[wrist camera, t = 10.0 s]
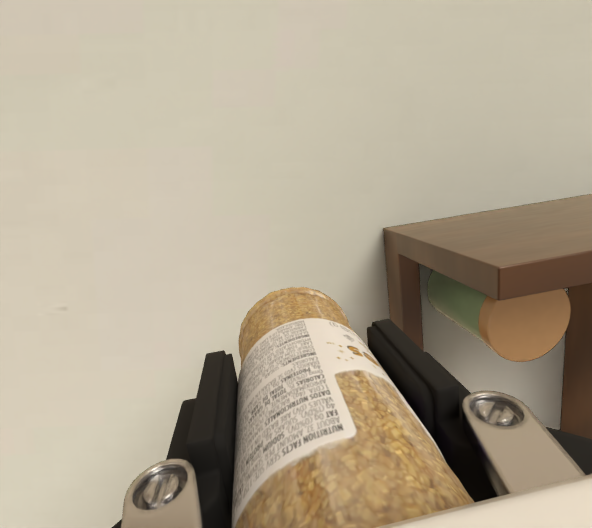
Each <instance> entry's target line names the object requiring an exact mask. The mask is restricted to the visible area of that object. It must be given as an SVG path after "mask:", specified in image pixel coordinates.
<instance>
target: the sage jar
mask: <svg viewBox="0 0 592 528" xmlns="http://www.w3.org/2000/svg"><path fill="white" fill-rule="evenodd" d="M427 292H428V297H429V300H430V303H431V304H432V306H433V307H434V308H435V309H436V310H437V311H438V312H440V313H441V314H443V315H444V316H446V317H447V318H449V319H450V320H452V321H453V322H455V323H456V324H457V325H459V326H460V327H462V328H463V329H465V330H466V331H468V332H469V333H471V334H472V335H474V336H475V337H477V338H478V339H480V340H481V341H483V342H484V343H485V344H486V345H487V346H488V347H489V348H490V349H491V350H492V351H494V352H495V353H497V354H498V355H500V356H501V357H503V358H505V359H507V360H510V361H516V362H525V361H530V360H534V359H536V358H539V357H541V356H543V355H544V354H546V353H547V352H549V351H550V350H551V349H552V348H554V347H555V345H556V344H557V343H558V342H559V341H560V340H561V338H562V337H563V335H564V333H565V331H566V329H567V327H568V324H569V320H570V314H571V306H570V300H569V297H568V295H567V293H566V291H565V290H564V288H563V289H558V290H553V291H548V292H543V293H537V294H532V295H527V296H522V297H517V298H511V299H506V300H501V301H498V300H496V299H494V298H492V297H489V296H487V295H485V294H483V293H481V292H479V291H477V290H475V289H473V288H470V287H468V286H466V285H464V284H462V283H460V282H458V281H456V280H454V279H451V278H449V277H447V276H445V275H443V274H441V273H439V272H437V271H435V270H433V272H432V273H431V275H430V278H429V281H428V287H427Z"/></svg>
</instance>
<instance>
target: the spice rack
mask: <svg viewBox="0 0 592 528" xmlns="http://www.w3.org/2000/svg"><path fill="white" fill-rule="evenodd" d="M383 231H384V244H385V257H386V270H387V283H388V296H389V309H390V320H391V321H392V322H393V323H394V324H396V325H397V326H398V327H399V328H400V329H401V330H402V331H403V332H404V333H405V334H406V335H407V336H408V337H409V338H410V339H411V340H412V341H413V342H414V343H415V344H416V345H417V346H418V347H420V348H421V349H422V350H423V332H422V313H421V295H420V276H419V263H420V264H422V265H424V266H426V267H428V268H430V269H432V270H435V271H437V272H439V273H441V274H443V275H445V276H447V277H449V278H451V279H454V280H456V281H458V282H460V283H462V284H464V285H466V286H468V287H470V288H473V289H475V290H477V291H479V292H481V293H483V294H485V295H487V296H489V297H492V298H494V299H496V300H498V301H501V300H506V299H511V298H517V297H522V296H527V295H532V294H537V293H543V292H548V291H553V290H558V289H563V288H569V293H568V297H569V300H570V306H571V314H570V320H569V324H568V327H567V329H566V345H565V362H564V380H563V397H562V414H561V431H563V432H567V433H571V434H574V435H578V436H582V437H586V438H589V439H592V194H589V195H583V196H577V197H570V198H564V199H558V200H552V201H546V202H540V203H534V204H528V205H521V206H515V207H509V208H503V209H497V210H491V211H485V212H479V213H473V214H466V215H460V216H454V217H448V218H442V219H436V220H430V221H424V222H417V223H411V224H405V225H399V226H393V227H387V228H383Z"/></svg>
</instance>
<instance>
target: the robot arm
mask: <svg viewBox="0 0 592 528" xmlns="http://www.w3.org/2000/svg"><path fill="white" fill-rule="evenodd" d="M367 338H368V348H369V350H370V351H371V353H372V354H373V355H374V357H375V358H376V360H377V361H378V362H379V364H380V365H381V367H382V368H383V369H384V371H385V372H386V373H387V375H388V376H389V378H390V379H391V381H392V382H393V383H394V385H395V386H396V388H397V389H398V390H399V392H400V393H401V394H402V396H403V397H404V399H405V400H406V401H407V403H408V404H409V406H410V407H411V409H412V410H413V411H414V413H415V414H416V415H417V417H418V418H419V420H420V421H421V422H422V424H423V425H424V427H425V428H426V429H427V431H428V432H429V434H430V435H431V437H432V438H433V440H434V441H435V443H436V445H437V446H438V448H439V450H440V451H441V453H442V455H443V457H444V459H445V461H446V463H447V465H448V466H449V467H450V469H451V470H452V471H453V473H454V474H455V475H456V476H457V478H458V479H459V480H460V482H461V484H462V485H463V487H464V488H465V490H466V491H467V493H468V494H469V496H470V497H471V498H472V499H473V501H474V502H475V503H471V504H467V505H463V506H459V507H455V508H451V509H447V510H443V511H439V512H435V513H431V514H427V515H423V516H419V517H415V518H411V519H407V520H403V521H399V522H395V523H392V524H388V525H384V526H380V527H376V528H592V439H589V438H586V437H582V436H578V435H574V434H571V433H567V432H563V431H559V430H556V429H552V428H548V427H545V426H544V425H543V424H542V423H541V422H540V420H539V419H538V418H537V417H536V416H535V415H534V413H533V412H532V411H531V410H530V409H529V408H528V407H527V406H526V405H525V404H524V403H523V402H522V401H520V400H518V399H516V398H515V397H513V396H510V395H507V394H504V393H500V392H495V391H479V392H474V393H472V394H471V393H470V392H469V391H468V390H467V389H466V388H465V387H464V386H463V385H462V384H461V383H460V382H459V381H458V380H456V379H455V378H454V377H453V376H452V375H451V374H450V373H449V372H448V371H447V370H446V369H445V368H444V367H443V366H442V365H441V364H439V363H438V362H437V361H436V360H435V359H434V358H433V357H432V356H431V355H430V354H429V353H427V352H424V351H423V350H422V349H421V348H420V347H418V346H417V345H416V344H415V343H414V342H413V341H412V340H411V339H410V338H409V337H408V336H407V335H406V334H405V333H404V332H403V331H402V330H401V329H400V328H399V327H398V326H397V325H396V324H394V323H393V322H392V321H391V320H390V319H385V320H380V321H375V322H372V327H368V328H367ZM237 392H238V381H237V376H236V371H235V367H234V362H233V357H232V354H227V355H226V354H225V351H218V352H213V353H208V354H206V358H205V362H204V367H203V371H202V375H201V380H200V384H199V389H198V393H197V398H195V399H190V400H185V401H183V403H182V406H181V409H180V413H179V416H178V420H177V423H176V427H175V430H174V434H173V437H172V441H171V444H170V448H169V451H168V455H167V458H166V460H165V461H161V462H159V463H157V464H155V465H153V466H151V467H149V468H148V469H146V470H145V471H144V472H142V473H141V474H140V475H139V476H138V477H137V478H136V479H135V480H134V481H133V482H132V484H131V485H130V487H129V488H128V490H127V492H126V495H125V499H124V506H123V514H122V519H121V520H120V521H119V522H118V523H117V524H115V525H114V526H113V527H112V528H232V502H233V481H234V454H235V432H236V412H237Z"/></svg>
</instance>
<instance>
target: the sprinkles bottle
mask: <svg viewBox="0 0 592 528" xmlns="http://www.w3.org/2000/svg"><path fill="white" fill-rule="evenodd" d="M239 353H240V357H241V370H240V374H239V379H238V392H237V412H236V432H235V454H234V481H233V502H232V528H376V527H380V526H384V525H388V524H392V523H395V522H399V521H403V520H407V519H411V518H415V517H419V516H423V515H427V514H431V513H435V512H439V511H443V510H447V509H451V508H455V507H459V506H463V505H467V504H471V503H475V502H474V501H473V499H472V498H471V497H470V496H469V494H468V493H467V491H466V490H465V488H464V487H463V485H462V484H461V482H460V480H459V479H458V478H457V476H456V475H455V474H454V473H453V471H452V470H451V469H450V467H449V466H448V465H447V463H446V461H445V459H444V457H443V455H442V453H441V451H440V450H439V448H438V446H437V445H436V443H435V441H434V440H433V438H432V437H431V435H430V434H429V432H428V431H427V429H426V428H425V427H424V425H423V424H422V422H421V421H420V420H419V418H418V417H417V415H416V414H415V413H414V411H413V410H412V409H411V407H410V406H409V404H408V403H407V401H406V400H405V399H404V397H403V396H402V394H401V393H400V392H399V390H398V389H397V388H396V386H395V385H394V383H393V382H392V381H391V379H390V378H389V376H388V375H387V373H386V372H385V371H384V369H383V368H382V367H381V365H380V364H379V362H378V361H377V360H376V358H375V357H374V355H373V354H372V353H371V351H370V350H369V348H368V347H367V346H366V344H365V343H364V342H363V341H362V339H361V338H360V337H359V336H358V335H357V334H356V333H355V332H354V331H353V330H352V329H351V327H350V326H349V323H348V320H347V317H346V315H345V314H344V312H343V311H342V309H341V308H340V306H339V305H338V304H337V303H336V302H335V301H334V300H332V299H331V298H330V297H328V296H327V295H325V294H323V293H322V292H320V291H317V290H313V289H309V288H304V287H300V288H286V289H281V290H278V291H274V292H271V293H269V294H268V295H266V296H265V297H264V298H263V299H261V300H260V301H258V302H257V303H256V304H255V305H254V306H253V307H252V308H251V309H250V310H249V311H248V313H247V315H246V317H245V319H244V320H243V322H242V324H241V330H240V335H239Z"/></svg>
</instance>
